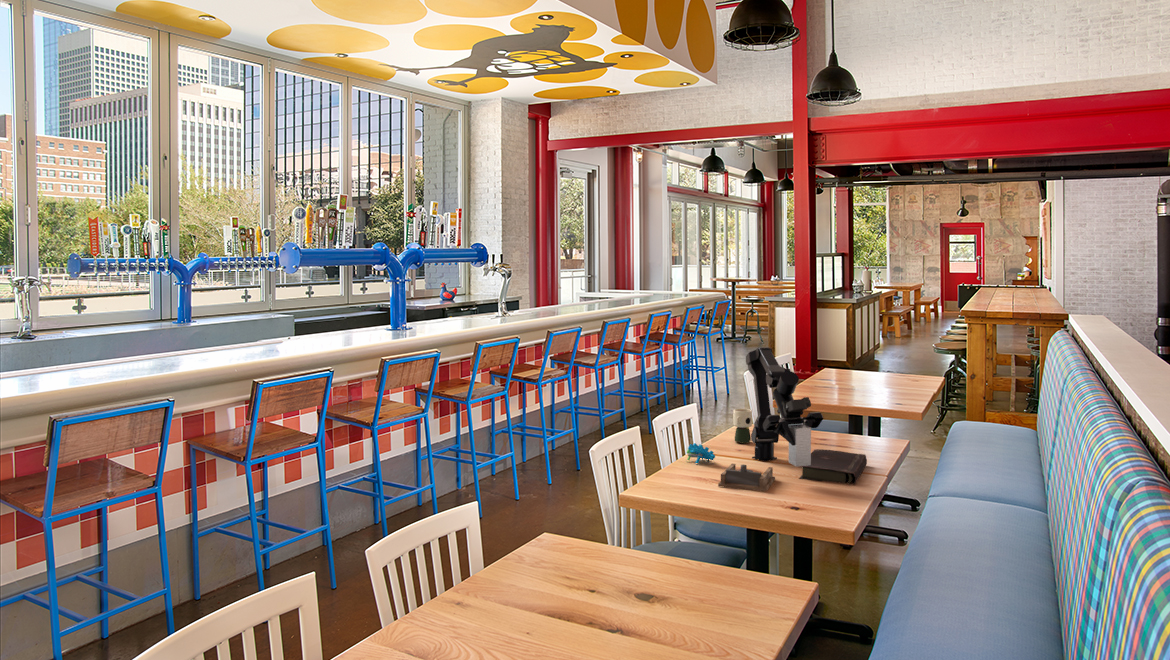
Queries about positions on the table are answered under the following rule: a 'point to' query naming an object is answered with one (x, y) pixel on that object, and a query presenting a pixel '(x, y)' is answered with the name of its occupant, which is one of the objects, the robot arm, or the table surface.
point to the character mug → (742, 424)
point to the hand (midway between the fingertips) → (801, 444)
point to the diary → (834, 466)
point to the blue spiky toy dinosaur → (699, 452)
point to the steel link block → (800, 445)
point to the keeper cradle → (746, 478)
